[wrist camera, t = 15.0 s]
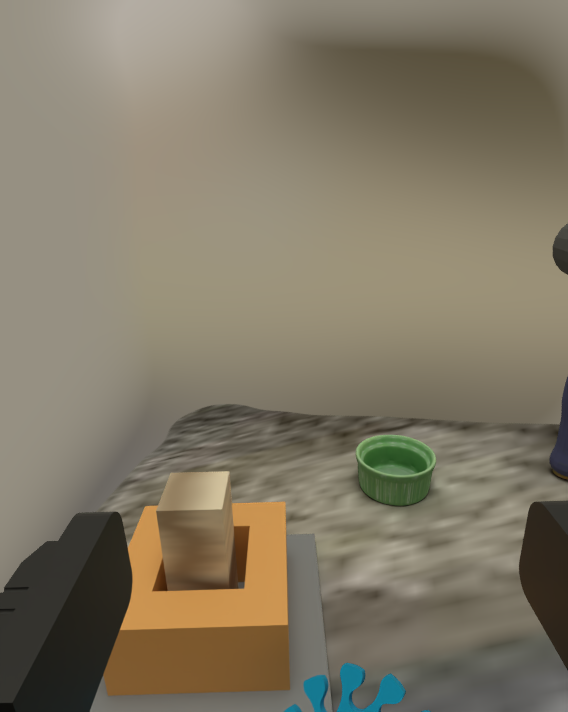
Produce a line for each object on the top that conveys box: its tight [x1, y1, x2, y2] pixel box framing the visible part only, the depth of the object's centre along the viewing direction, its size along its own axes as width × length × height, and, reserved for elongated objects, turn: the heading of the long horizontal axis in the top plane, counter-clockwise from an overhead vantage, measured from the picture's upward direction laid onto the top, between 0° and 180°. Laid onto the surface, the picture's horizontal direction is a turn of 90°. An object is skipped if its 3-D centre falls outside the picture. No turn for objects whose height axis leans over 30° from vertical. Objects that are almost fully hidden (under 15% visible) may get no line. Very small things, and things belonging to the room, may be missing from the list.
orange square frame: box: [90, 502, 332, 712], centre depth 37 cm, size 18×18×7 cm
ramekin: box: [356, 435, 436, 506], centre depth 55 cm, size 9×9×4 cm
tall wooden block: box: [156, 471, 239, 591], centre depth 36 cm, size 4×4×12 cm
